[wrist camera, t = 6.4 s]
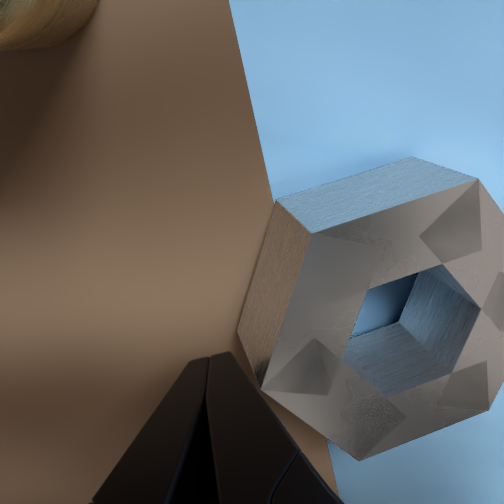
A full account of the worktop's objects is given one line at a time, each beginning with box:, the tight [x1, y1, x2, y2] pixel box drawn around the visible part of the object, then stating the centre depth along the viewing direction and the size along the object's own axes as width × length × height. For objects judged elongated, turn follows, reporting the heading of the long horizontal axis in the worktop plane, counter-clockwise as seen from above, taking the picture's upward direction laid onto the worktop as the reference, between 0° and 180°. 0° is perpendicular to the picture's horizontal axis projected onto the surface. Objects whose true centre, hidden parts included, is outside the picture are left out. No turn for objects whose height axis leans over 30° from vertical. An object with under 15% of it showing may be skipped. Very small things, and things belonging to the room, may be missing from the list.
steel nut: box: [237, 157, 504, 461], centre depth 9 cm, size 5×6×2 cm
